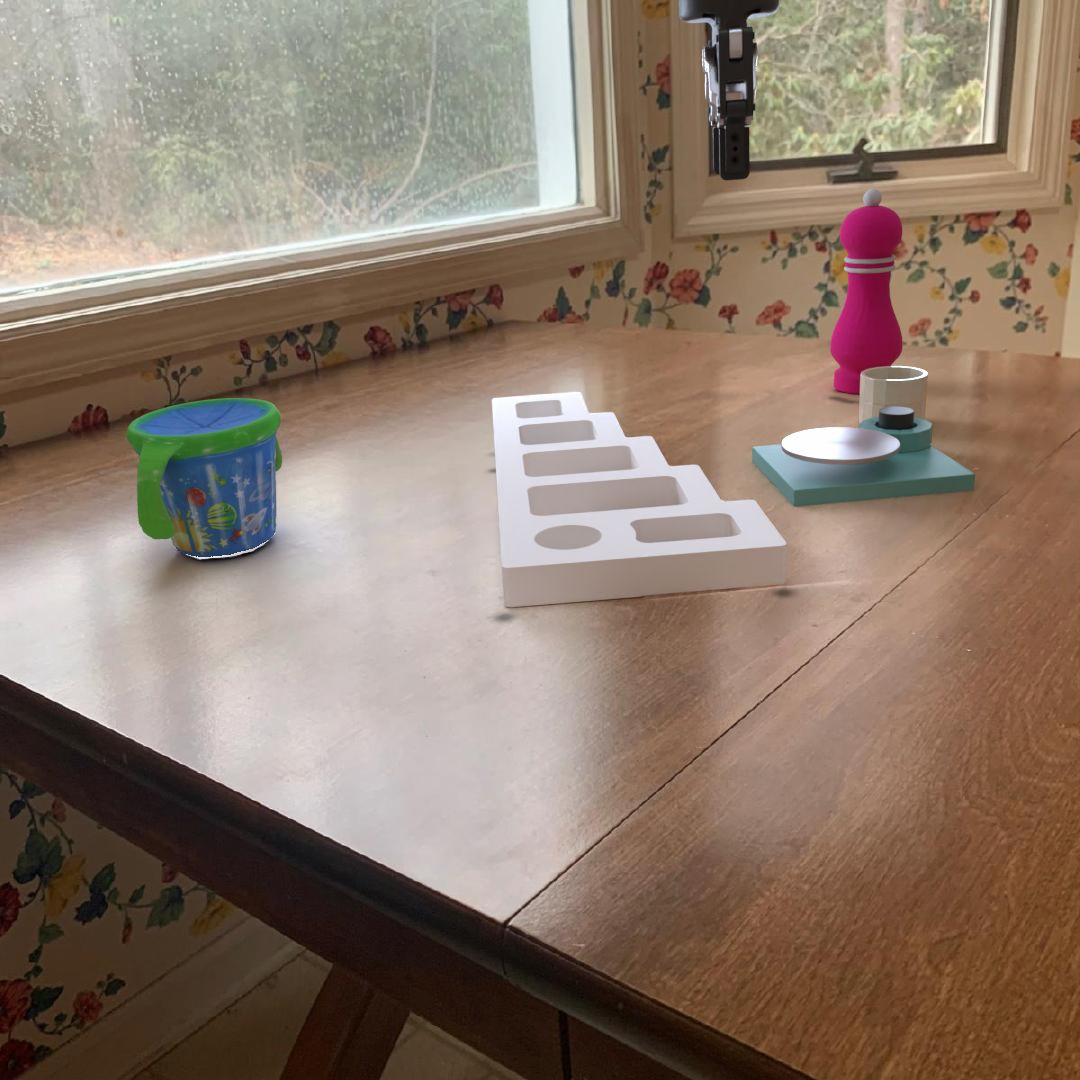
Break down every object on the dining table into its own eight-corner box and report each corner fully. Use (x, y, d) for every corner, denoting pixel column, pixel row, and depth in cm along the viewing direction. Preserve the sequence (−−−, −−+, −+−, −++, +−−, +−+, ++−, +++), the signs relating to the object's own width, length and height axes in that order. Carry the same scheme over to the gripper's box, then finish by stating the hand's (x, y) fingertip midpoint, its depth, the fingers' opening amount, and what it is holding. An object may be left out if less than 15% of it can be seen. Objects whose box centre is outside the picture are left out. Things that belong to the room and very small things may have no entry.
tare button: (905, 422, 92) (906, 405, 92) (918, 431, 90) (919, 413, 89) (873, 425, 92) (873, 407, 91) (885, 434, 89) (886, 416, 89)
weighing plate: (874, 427, 90) (874, 423, 90) (918, 458, 82) (919, 453, 82) (767, 437, 90) (767, 432, 89) (801, 469, 81) (801, 464, 81)
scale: (913, 446, 95) (915, 413, 93) (978, 490, 83) (981, 453, 82) (750, 460, 94) (750, 427, 93) (793, 507, 82) (794, 469, 81)
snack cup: (216, 593, 74) (188, 449, 70) (98, 578, 78) (66, 441, 74) (341, 516, 87) (324, 391, 84) (235, 506, 91) (214, 387, 88)
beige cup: (909, 416, 104) (912, 364, 102) (934, 431, 98) (938, 377, 96) (849, 421, 103) (851, 369, 102) (872, 437, 98) (874, 382, 96)
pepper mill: (915, 386, 114) (927, 186, 107) (868, 399, 110) (877, 192, 103) (860, 376, 120) (868, 185, 112) (814, 388, 116) (819, 192, 109)
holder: (493, 424, 111) (491, 398, 110) (669, 410, 111) (669, 384, 110) (504, 607, 69) (501, 568, 68) (787, 584, 69) (788, 545, 68)
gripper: (790, -72, 74) (789, 178, 80) (769, -45, 87) (769, 168, 93) (679, -61, 75) (686, 186, 81) (674, -36, 88) (680, 175, 94)
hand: (730, 176), depth 87 cm, fingers open, 8 cm apart
